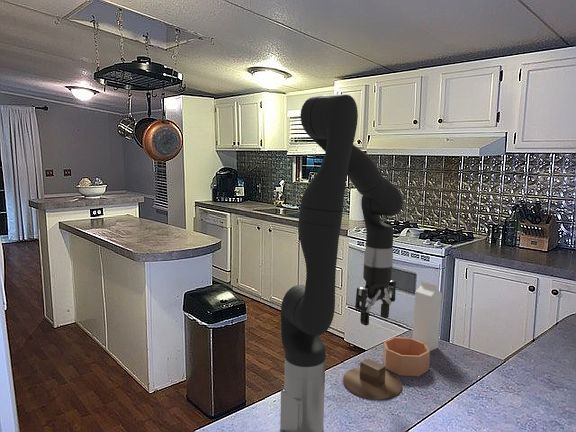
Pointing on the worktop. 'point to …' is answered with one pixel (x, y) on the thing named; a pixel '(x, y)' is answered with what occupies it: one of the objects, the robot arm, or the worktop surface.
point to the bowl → (406, 356)
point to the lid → (372, 381)
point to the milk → (427, 315)
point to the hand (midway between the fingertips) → (374, 320)
